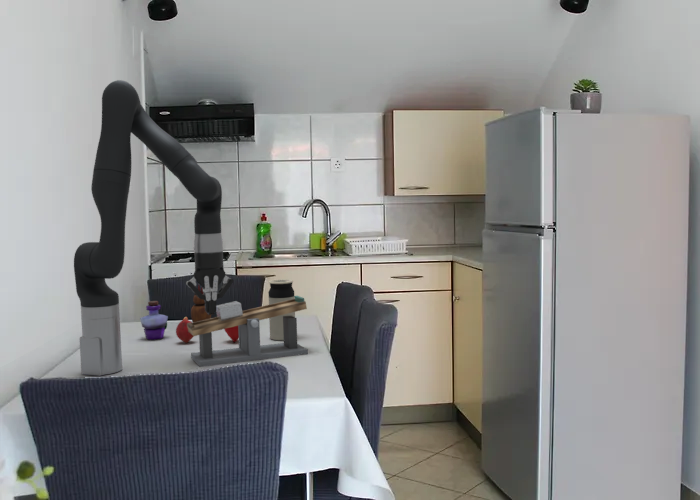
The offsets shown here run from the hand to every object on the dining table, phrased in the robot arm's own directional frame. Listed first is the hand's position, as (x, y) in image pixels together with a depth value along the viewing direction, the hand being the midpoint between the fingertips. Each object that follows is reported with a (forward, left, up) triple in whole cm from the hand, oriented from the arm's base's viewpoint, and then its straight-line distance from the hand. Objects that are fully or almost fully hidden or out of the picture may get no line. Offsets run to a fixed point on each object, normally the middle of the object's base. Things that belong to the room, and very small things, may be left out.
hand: (210, 314), depth 183 cm
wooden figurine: (+43, +33, -13) cm, 56 cm away
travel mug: (+31, -5, -13) cm, 34 cm away
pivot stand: (+7, -7, -13) cm, 16 cm away
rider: (+4, -4, -2) cm, 6 cm away
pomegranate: (+17, +21, -13) cm, 30 cm away
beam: (+7, -7, -3) cm, 11 cm away
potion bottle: (+20, +35, -13) cm, 42 cm away
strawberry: (+22, +7, -13) cm, 26 cm away
